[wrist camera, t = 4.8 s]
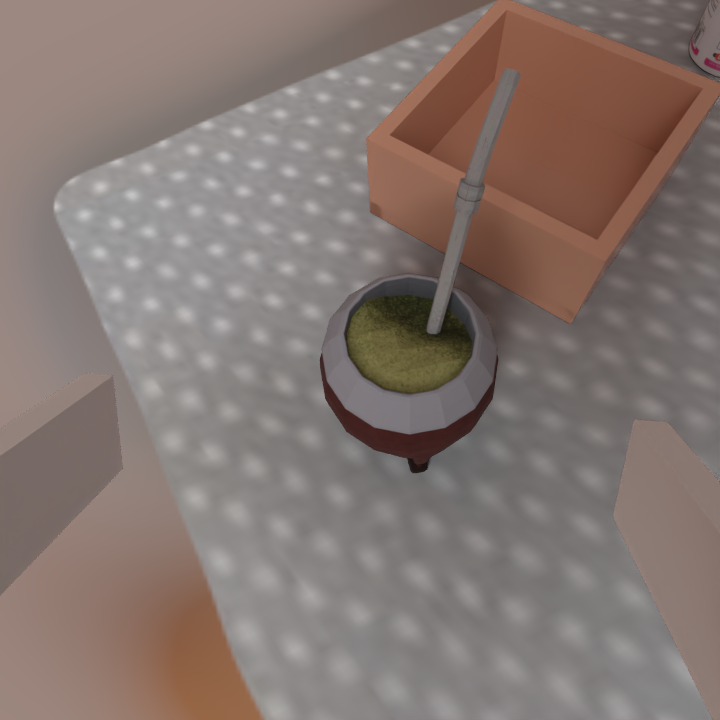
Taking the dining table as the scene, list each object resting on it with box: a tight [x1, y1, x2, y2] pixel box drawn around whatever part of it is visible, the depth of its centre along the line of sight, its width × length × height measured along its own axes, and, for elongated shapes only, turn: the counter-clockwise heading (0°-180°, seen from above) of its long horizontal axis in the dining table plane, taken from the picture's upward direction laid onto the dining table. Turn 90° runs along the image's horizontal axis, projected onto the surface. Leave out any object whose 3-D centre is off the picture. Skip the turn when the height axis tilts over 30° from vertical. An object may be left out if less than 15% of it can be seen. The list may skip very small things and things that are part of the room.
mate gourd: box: [320, 68, 521, 473], centre depth 22 cm, size 8×8×15 cm
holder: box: [366, 0, 720, 324], centre depth 32 cm, size 13×13×6 cm
